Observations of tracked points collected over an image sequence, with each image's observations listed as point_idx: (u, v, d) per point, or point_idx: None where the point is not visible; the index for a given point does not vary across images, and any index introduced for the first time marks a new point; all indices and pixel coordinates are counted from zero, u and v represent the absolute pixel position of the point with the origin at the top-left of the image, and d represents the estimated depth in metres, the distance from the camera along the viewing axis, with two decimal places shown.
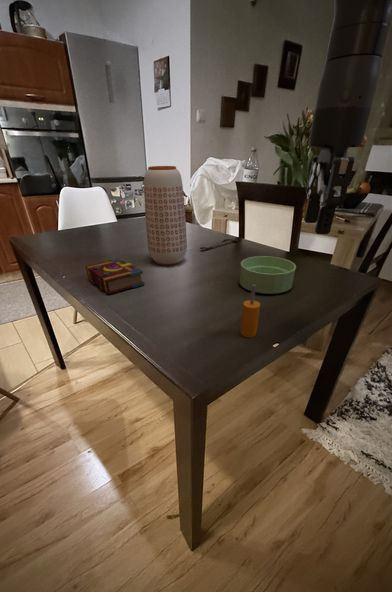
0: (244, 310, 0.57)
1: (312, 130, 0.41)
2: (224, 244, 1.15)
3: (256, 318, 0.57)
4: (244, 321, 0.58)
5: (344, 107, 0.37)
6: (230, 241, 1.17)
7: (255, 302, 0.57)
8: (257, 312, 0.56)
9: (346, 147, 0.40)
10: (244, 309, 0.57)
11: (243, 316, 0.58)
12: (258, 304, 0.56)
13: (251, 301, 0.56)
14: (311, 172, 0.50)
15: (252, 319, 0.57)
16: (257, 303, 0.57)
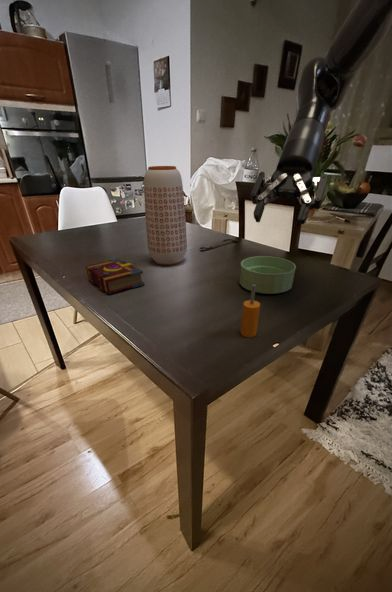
0: (244, 310, 0.57)
1: None
2: (224, 244, 1.15)
3: (256, 318, 0.57)
4: (244, 321, 0.58)
5: None
6: (230, 241, 1.17)
7: (255, 302, 0.57)
8: (257, 312, 0.56)
9: (276, 169, 0.59)
10: (244, 309, 0.57)
11: (243, 316, 0.58)
12: (258, 304, 0.56)
13: (251, 301, 0.56)
14: None
15: (252, 319, 0.57)
16: (257, 303, 0.57)
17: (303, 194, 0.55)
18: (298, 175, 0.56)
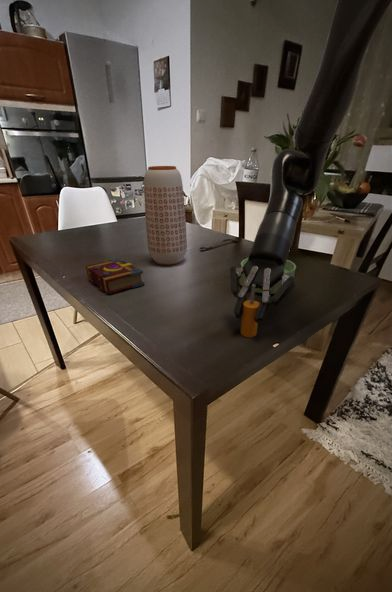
0: (244, 310, 0.57)
1: None
2: (224, 244, 1.15)
3: None
4: (244, 321, 0.58)
5: None
6: (230, 241, 1.17)
7: (255, 302, 0.57)
8: None
9: (248, 258, 0.59)
10: (244, 309, 0.57)
11: (243, 316, 0.58)
12: (258, 304, 0.56)
13: (251, 301, 0.56)
14: None
15: (252, 319, 0.57)
16: (257, 303, 0.57)
17: (264, 291, 0.55)
18: (269, 270, 0.55)
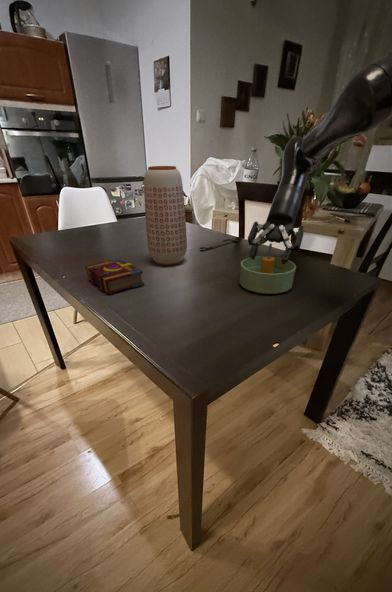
0: (263, 263, 0.78)
1: None
2: (224, 244, 1.15)
3: (272, 269, 0.78)
4: (263, 272, 0.79)
5: None
6: (230, 241, 1.17)
7: (271, 257, 0.78)
8: (272, 264, 0.77)
9: None
10: (263, 262, 0.78)
11: (262, 268, 0.79)
12: (273, 258, 0.77)
13: (268, 256, 0.77)
14: None
15: (269, 270, 0.78)
16: (272, 258, 0.78)
17: (286, 241, 0.75)
18: (282, 226, 0.75)
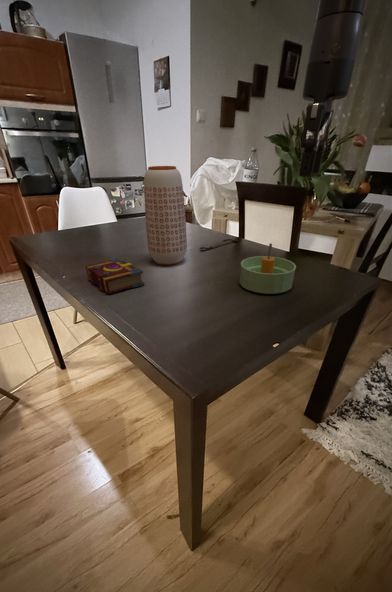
0: (263, 263, 0.78)
1: (350, 81, 0.48)
2: (224, 244, 1.15)
3: (272, 269, 0.78)
4: (263, 272, 0.79)
5: None
6: (230, 241, 1.17)
7: (271, 257, 0.78)
8: (272, 264, 0.77)
9: None
10: (263, 262, 0.78)
11: (262, 268, 0.79)
12: (273, 258, 0.77)
13: (268, 256, 0.77)
14: (320, 122, 0.47)
15: (269, 270, 0.78)
16: (272, 258, 0.78)
17: None
18: None
